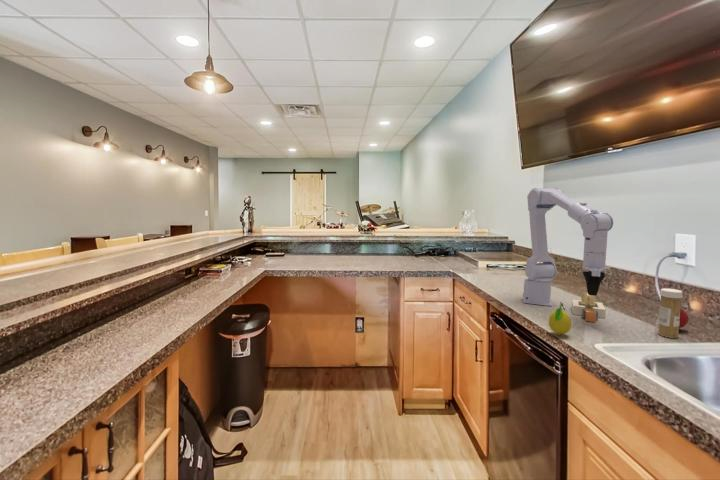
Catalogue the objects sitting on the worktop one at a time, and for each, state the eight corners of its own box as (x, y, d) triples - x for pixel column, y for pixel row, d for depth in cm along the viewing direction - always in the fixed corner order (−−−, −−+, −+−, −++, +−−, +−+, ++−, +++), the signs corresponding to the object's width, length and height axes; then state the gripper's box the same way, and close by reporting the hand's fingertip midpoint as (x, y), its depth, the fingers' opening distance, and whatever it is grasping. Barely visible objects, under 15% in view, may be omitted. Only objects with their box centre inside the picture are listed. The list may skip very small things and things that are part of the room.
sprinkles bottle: (682, 339, 92) (686, 292, 91) (662, 337, 93) (666, 291, 92) (672, 333, 96) (676, 288, 95) (653, 331, 98) (657, 287, 96)
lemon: (562, 330, 100) (563, 298, 99) (577, 338, 94) (579, 303, 93) (541, 331, 99) (543, 299, 98) (555, 339, 93) (557, 304, 92)
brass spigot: (580, 313, 115) (581, 293, 115) (580, 310, 119) (581, 291, 118) (594, 315, 113) (595, 295, 112) (594, 312, 116) (595, 292, 116)
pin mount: (581, 318, 110) (582, 310, 110) (581, 316, 112) (581, 308, 111) (597, 320, 108) (598, 312, 108) (597, 318, 109) (597, 310, 109)
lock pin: (585, 320, 107) (586, 311, 107) (583, 314, 113) (584, 306, 113) (595, 322, 106) (596, 313, 106) (593, 316, 112) (593, 307, 112)
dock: (572, 314, 114) (573, 305, 114) (571, 307, 122) (572, 299, 122) (605, 318, 110) (605, 309, 110) (601, 311, 118) (602, 302, 117)
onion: (690, 334, 95) (692, 307, 95) (663, 330, 98) (665, 304, 98) (684, 328, 100) (686, 302, 100) (659, 324, 103) (661, 300, 103)
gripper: (614, 256, 95) (611, 302, 96) (607, 250, 107) (604, 291, 109) (584, 254, 98) (582, 299, 100) (581, 248, 111) (579, 288, 112)
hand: (592, 294), depth 104 cm, fingers closed
